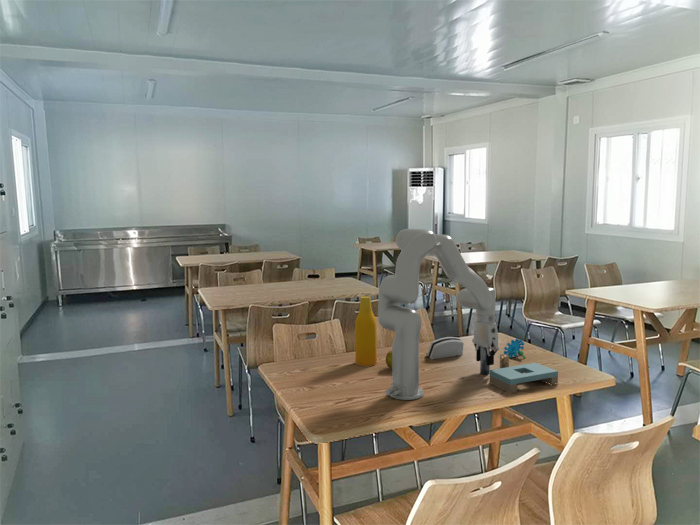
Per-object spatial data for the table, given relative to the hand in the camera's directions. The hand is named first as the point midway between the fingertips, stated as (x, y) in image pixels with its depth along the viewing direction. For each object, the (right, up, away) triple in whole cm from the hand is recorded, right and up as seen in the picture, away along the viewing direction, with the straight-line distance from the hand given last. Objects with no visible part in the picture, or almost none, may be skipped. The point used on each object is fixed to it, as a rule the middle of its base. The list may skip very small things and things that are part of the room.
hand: (484, 362), depth 218 cm
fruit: (-34, -5, +8) cm, 36 cm away
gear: (+19, -2, +23) cm, 30 cm away
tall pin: (0, -5, +1) cm, 5 cm away
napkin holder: (-11, -2, +25) cm, 28 cm away
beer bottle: (-47, -4, +17) cm, 50 cm away
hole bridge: (+12, -6, -12) cm, 18 cm away
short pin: (+9, -4, +5) cm, 11 cm away
